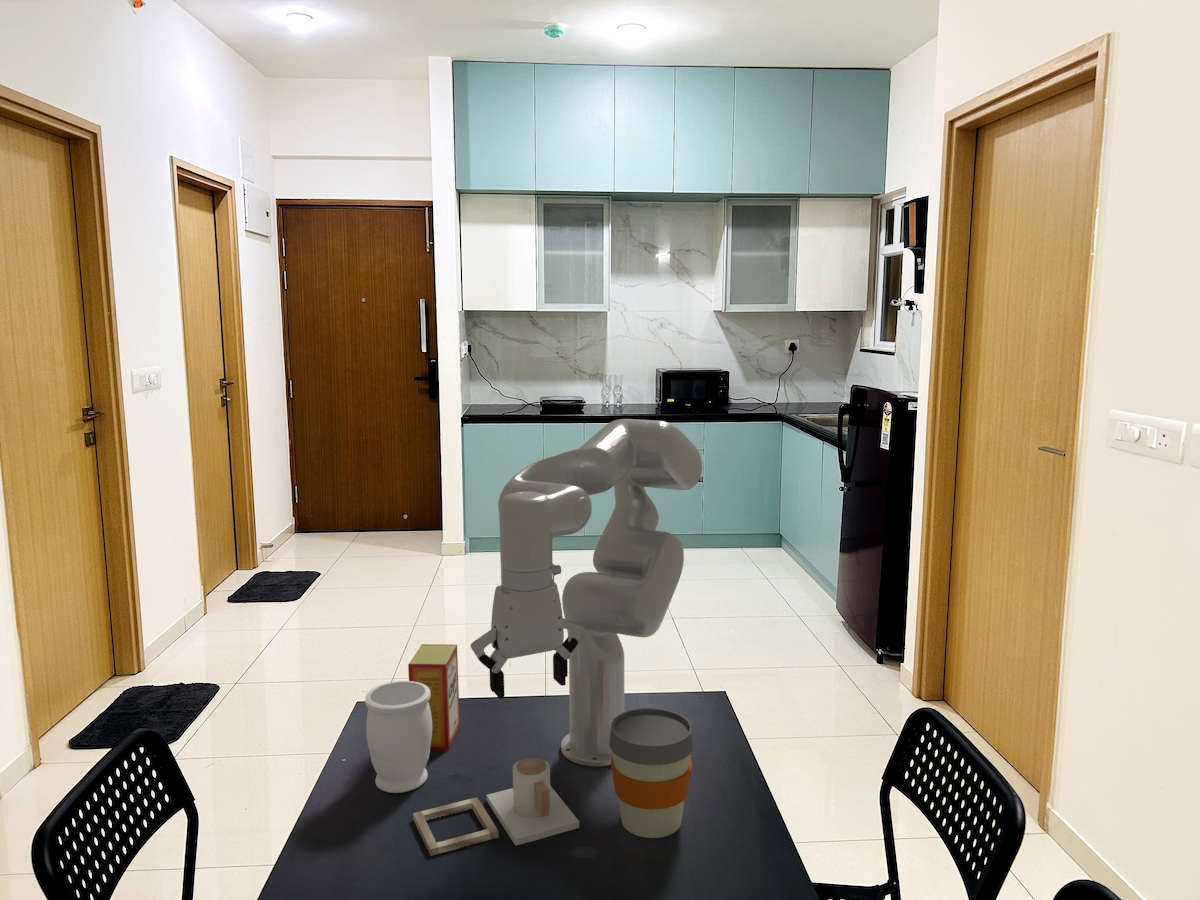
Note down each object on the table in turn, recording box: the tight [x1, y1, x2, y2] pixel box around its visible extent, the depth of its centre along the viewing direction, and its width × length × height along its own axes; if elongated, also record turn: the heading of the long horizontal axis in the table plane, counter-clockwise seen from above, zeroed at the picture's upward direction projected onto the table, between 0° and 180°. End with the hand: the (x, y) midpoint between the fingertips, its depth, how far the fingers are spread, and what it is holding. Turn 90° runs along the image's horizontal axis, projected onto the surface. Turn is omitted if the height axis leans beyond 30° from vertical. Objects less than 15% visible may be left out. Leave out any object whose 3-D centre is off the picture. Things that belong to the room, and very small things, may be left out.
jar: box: [364, 680, 432, 794], centre depth 140 cm, size 11×10×15 cm
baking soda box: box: [407, 643, 461, 751], centre depth 154 cm, size 10×6×16 cm
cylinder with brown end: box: [512, 757, 551, 818], centre depth 129 cm, size 8×6×7 cm
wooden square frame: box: [412, 797, 499, 857], centre depth 128 cm, size 10×10×1 cm
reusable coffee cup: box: [609, 707, 695, 839], centre depth 128 cm, size 13×12×15 cm
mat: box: [486, 785, 580, 846], centre depth 131 cm, size 10×13×1 cm
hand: (529, 688), depth 128 cm, fingers open, 9 cm apart
